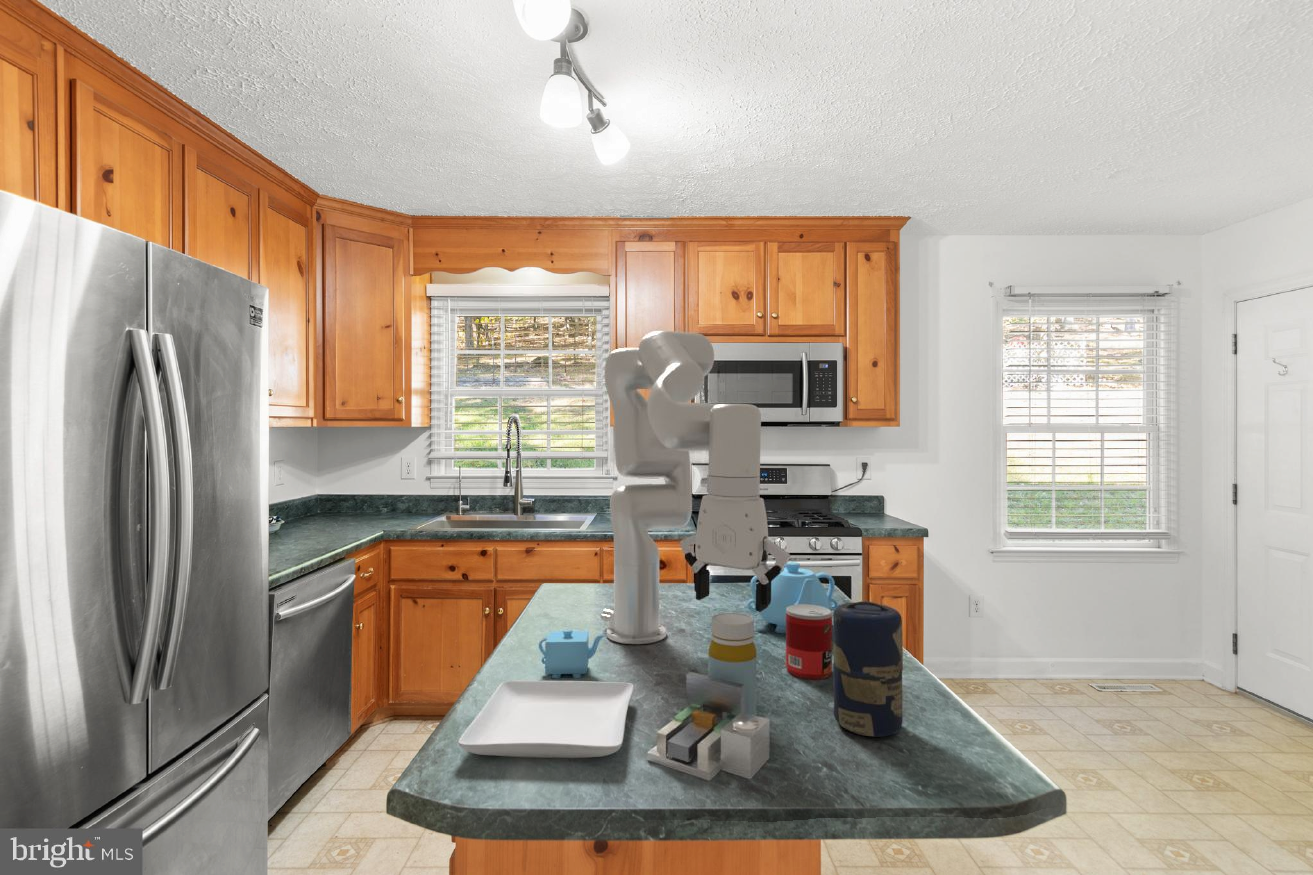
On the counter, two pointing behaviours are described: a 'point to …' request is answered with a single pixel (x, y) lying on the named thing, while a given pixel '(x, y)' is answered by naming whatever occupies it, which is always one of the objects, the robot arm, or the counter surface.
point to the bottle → (734, 653)
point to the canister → (868, 668)
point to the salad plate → (550, 720)
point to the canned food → (809, 641)
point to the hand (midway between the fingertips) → (731, 603)
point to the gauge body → (718, 746)
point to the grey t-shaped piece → (705, 711)
